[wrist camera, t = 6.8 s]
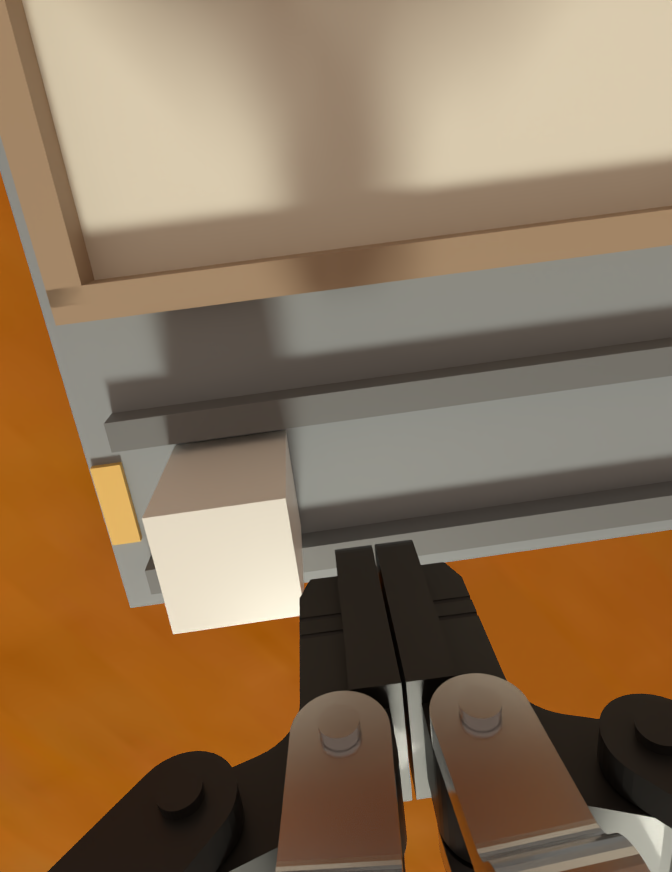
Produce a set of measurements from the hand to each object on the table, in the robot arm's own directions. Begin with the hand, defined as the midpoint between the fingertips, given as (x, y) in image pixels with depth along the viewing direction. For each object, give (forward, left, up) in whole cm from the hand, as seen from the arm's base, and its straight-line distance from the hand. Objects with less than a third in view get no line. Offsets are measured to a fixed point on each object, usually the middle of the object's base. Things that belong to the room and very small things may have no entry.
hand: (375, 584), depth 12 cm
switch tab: (+3, 0, -6) cm, 6 cm away
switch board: (-3, -5, -8) cm, 9 cm away
